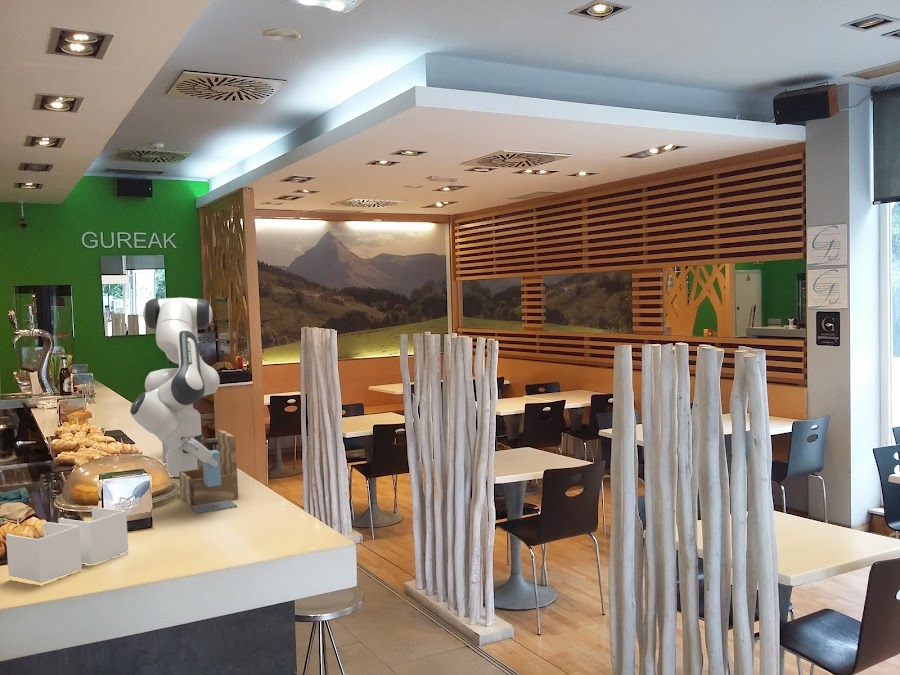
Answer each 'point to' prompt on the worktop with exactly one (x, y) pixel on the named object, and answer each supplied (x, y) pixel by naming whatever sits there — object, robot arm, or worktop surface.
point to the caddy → (228, 490)
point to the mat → (213, 506)
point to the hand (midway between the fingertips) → (213, 463)
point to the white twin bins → (68, 546)
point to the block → (212, 471)
